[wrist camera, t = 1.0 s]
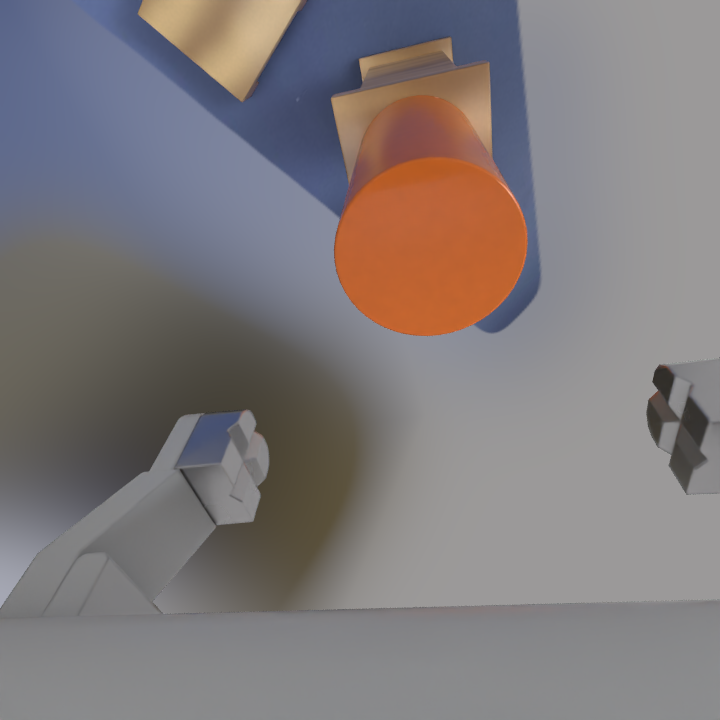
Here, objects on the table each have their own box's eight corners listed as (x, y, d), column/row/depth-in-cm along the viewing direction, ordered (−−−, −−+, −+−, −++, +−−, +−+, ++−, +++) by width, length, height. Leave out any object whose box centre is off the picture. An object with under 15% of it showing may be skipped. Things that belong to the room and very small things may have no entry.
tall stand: (359, 58, 41) (330, 98, 24) (450, 36, 40) (489, 61, 22) (375, 152, 46) (361, 242, 28) (457, 135, 44) (494, 220, 27)
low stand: (152, 13, 40) (137, 14, 38) (205, -114, 35) (191, -123, 33) (250, 97, 44) (242, 102, 41) (312, -8, 39) (306, -8, 36)
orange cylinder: (346, 110, 24) (312, 179, 15) (475, 81, 23) (529, 136, 13) (370, 230, 28) (355, 346, 18) (481, 211, 27) (526, 324, 17)
